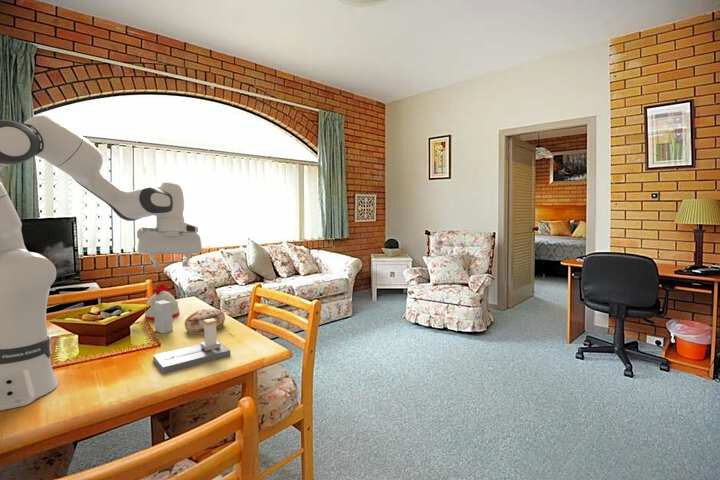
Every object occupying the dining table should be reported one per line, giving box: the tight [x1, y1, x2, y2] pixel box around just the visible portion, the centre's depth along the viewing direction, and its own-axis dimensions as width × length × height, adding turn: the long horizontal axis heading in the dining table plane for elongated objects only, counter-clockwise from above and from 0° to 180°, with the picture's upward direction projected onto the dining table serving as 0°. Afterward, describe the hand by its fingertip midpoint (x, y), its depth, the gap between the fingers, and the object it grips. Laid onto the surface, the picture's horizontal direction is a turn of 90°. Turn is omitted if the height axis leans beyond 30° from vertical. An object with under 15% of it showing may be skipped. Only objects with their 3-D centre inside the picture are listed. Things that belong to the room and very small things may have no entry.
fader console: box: [152, 340, 231, 374], centre depth 125 cm, size 21×12×2 cm, turn 132°
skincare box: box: [154, 300, 174, 334], centre depth 150 cm, size 6×4×12 cm
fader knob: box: [200, 318, 222, 351], centre depth 128 cm, size 5×5×10 cm
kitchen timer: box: [144, 283, 180, 322], centre depth 169 cm, size 14×14×15 cm
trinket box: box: [184, 308, 226, 335], centre depth 154 cm, size 13×15×8 cm
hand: (170, 266), depth 131 cm, fingers open, 8 cm apart
